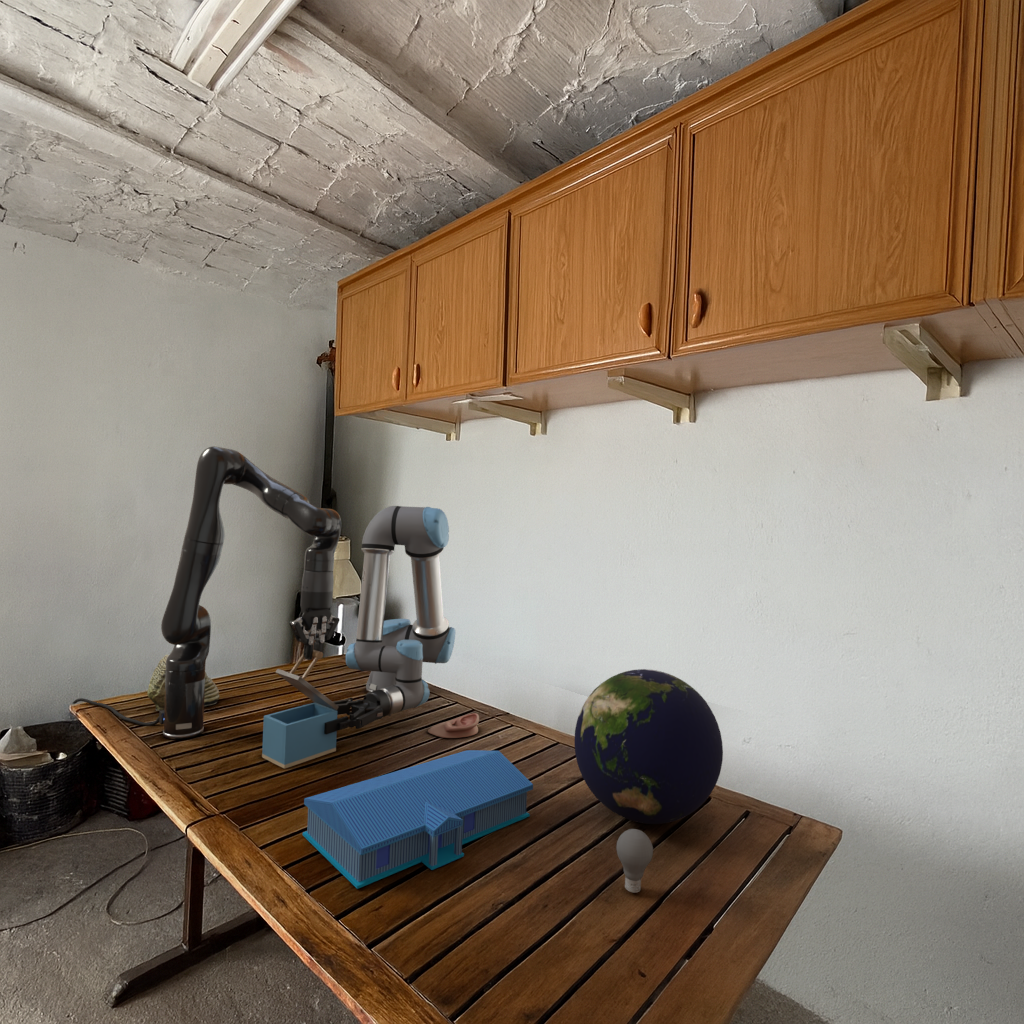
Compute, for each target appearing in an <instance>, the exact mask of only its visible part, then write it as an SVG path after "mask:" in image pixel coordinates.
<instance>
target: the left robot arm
mask: <svg viewBox="0 0 1024 1024" xmlns="http://www.w3.org/2000/svg"><path fill="white" fill-rule="evenodd" d="M224 485H232V486H236V487H239V488H242V489H244V490H246V491H248V492H250V493H252V494H254V495H255V496H256V497H257V499H259V500H260V501H261V502H262V504H263V505H264V506H266V507H267V508H269V510H272V511H273V512H275V513H276V514H278V515H279V516H281V517H283V518H285V519H287V520H289V521H290V522H291V523H292V524H293V525H294V526H295V527H296V528H298V530H300V531H301V532H302V533H304V534H306V535H308V536H310V537H314V538H313V542H312V543H311V545H310V546H308V547H307V548H306V550H305V553H304V563H303V574H302V578H301V590H300V605H299V606H300V613H299V615H298V617H297V618H296V619H295V620H290V621H289V626H290V628H291V631H292V633H293V635H294V637H295V639H296V641H297V642H299V643H302V644H303V649H304V653H303V652H302V654H303V655H304V657H305V658H304V659H305V660H308V661H311V660H312V661H313V658H314V657H313V656H312V654H313V650H317V651H320V652H322V653H323V648H324V643H325V641H329V640H331V638H332V636H333V635H334V633H335V630H336V628H337V626H338V625H339V622H340V618H339V617H336V616H334V615H333V614H332V611H331V609H332V607H333V598H334V597H333V596H334V585H335V584H334V582H335V581H334V577H335V576H334V570H335V569H334V567H335V554H336V550H337V547H338V545H339V541H340V537H341V532H342V519H341V516H340V514H339V513H338V512H337V511H336V510H335V509H333V508H323V507H317V506H315V505H313V504H311V503H310V501H309V498H307V497H306V496H304V495H303V494H301V493H300V492H299V491H297V490H295V489H293V488H291V487H289V486H288V485H286V484H284V483H283V482H281V481H278V480H277V479H275V478H274V477H271V476H270V475H269V474H267V473H266V472H264V471H263V470H262V469H260V468H259V467H258V466H256V465H255V463H253V462H252V461H251V460H250V459H248V458H247V457H246V456H245V455H244V454H242V453H241V452H239V451H238V450H236V449H232V448H226V447H221V446H209V447H207V448H205V449H204V450H203V451H202V452H201V454H200V455H199V458H198V460H197V463H196V470H195V479H194V487H193V488H194V489H193V494H192V495H193V497H192V502H191V507H190V512H189V517H188V521H187V525H186V526H187V527H186V530H185V533H184V537H183V541H182V545H181V552H180V557H179V561H178V565H177V568H176V574H175V578H174V583H173V587H172V590H171V593H170V596H169V598H168V602H167V605H166V607H165V610H164V613H163V616H162V619H161V624H160V631H161V634H162V636H163V639H164V640H165V641H166V642H167V643H169V644H171V645H173V647H172V650H171V652H170V653H169V654H168V655H169V656H168V657H167V659H166V674H165V705H164V710H162V711H159V710H158V712H159V713H158V717H157V718H156V719H155V720H154V721H151V722H144V721H141V720H136V719H133V718H131V717H127V716H125V715H124V714H122V713H120V712H119V711H118V710H116V709H115V707H113V706H111V705H108V704H106V703H102V702H98V701H93V700H92V699H91V700H90V699H87V698H82V697H81V698H79V697H78V698H76V699H74V701H72V703H71V704H72V705H76V704H77V703H79V702H83V703H87V704H90V705H93V706H98V707H102V708H105V709H107V710H109V711H110V712H112V713H113V714H114V715H115V716H117V717H118V718H120V719H122V720H124V721H126V722H129V723H132V724H136V725H139V726H147V727H148V726H150V727H151V726H155V725H157V724H158V723H160V725H163V730H162V737H164V738H166V739H169V740H185V739H190V738H191V739H192V738H194V737H197V736H199V735H202V734H203V732H204V730H205V729H204V727H205V725H204V722H205V721H204V718H205V706H204V693H205V672H206V664H207V663H206V662H207V658H208V655H209V653H210V647H211V633H212V619H211V616H210V613H209V611H208V610H207V608H205V607H204V606H203V605H200V603H201V598H202V596H203V595H202V594H203V592H204V589H205V588H206V586H207V584H208V582H209V580H210V579H211V578H212V575H213V574H214V572H215V570H216V568H217V566H218V564H219V562H220V558H221V556H222V552H223V547H224V542H225V537H226V535H225V534H226V533H225V527H224V523H223V519H222V514H221V508H220V502H221V496H222V492H223V488H224ZM97 702H98V703H97Z"/></svg>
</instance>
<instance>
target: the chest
mask: <svg viewBox="0 0 1024 1024" xmlns="http://www.w3.org/2000/svg"><path fill="white" fill-rule="evenodd" d="M337 712H338V711H336V710H333V709H331V708H328V707H326V706H323V705H320V704H318V703H316V702H310V703H307V704H303V705H299V706H296V707H292V708H288V709H285V710H280V711H277V712H273V713H269V714H266V715H263V724H262V725H263V727H262V750H261V751H262V754H261V758H263V759H264V760H266V761H268V762H271V763H272V764H273V765H276V766H278V767H279V768H282V769H284V770H286V769H288V768H292V767H293V766H296V765H300V764H302V763H306V762H309V761H311V760H314V759H316V758H320V757H323V756H325V755H329V754H332V753H334V752H337V734H338V731H335V732H332V733H329V734H324V730H325V723H326V722H329V721H332V720H335V719H338V715H337Z"/></svg>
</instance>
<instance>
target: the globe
mask: <svg viewBox="0 0 1024 1024" xmlns="http://www.w3.org/2000/svg"><path fill="white" fill-rule="evenodd" d="M573 741H574V754H575V758H576V759H575V760H576V763H577V766H578V769H579V772H580V775H581V777H582V779H583V781H584V782H585V784H586V786H587V787H588V789H589V790H590V792H591V793H592V794H593V796H594V797H595V798H596V799H597V800H598V801H599V802H600V803H601V804H602V805H603V806H604V807H606V808H607V809H608V810H610V811H611V812H613V813H614V814H615V815H617V816H620V817H622V818H624V819H626V820H628V821H631V822H634V823H639V824H645V825H663V824H668V823H672V822H676V821H679V820H682V819H684V818H686V817H688V816H689V815H692V813H694V812H695V811H697V810H698V809H699V808H700V807H701V806H702V805H703V804H704V803H705V802H706V801H707V800H708V799H709V797H710V796H711V794H712V793H713V791H714V789H715V787H716V786H717V783H718V781H719V778H720V774H721V770H722V766H723V760H724V748H723V739H722V733H721V730H720V727H719V724H718V721H717V718H716V716H715V714H714V712H713V710H712V709H711V707H710V705H709V704H708V702H707V701H706V700H705V698H704V697H703V696H702V695H701V694H700V693H699V692H698V691H697V689H695V688H694V687H692V686H691V685H690V684H689V683H687V682H686V681H684V680H682V678H681V679H680V678H679V677H677V676H675V675H673V674H671V673H667V672H664V671H662V670H661V671H660V670H657V669H651V668H641V669H640V668H639V669H631V670H626V671H622V672H620V673H618V674H614V675H612V676H611V677H608V678H606V680H604V681H603V682H602V683H600V684H599V685H598V686H597V687H595V688H594V689H593V690H592V692H591V693H590V694H589V695H588V697H587V698H586V700H585V701H584V703H583V705H582V707H581V708H580V711H579V713H578V716H577V719H576V723H575V729H574V740H573Z"/></svg>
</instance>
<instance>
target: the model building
mask: <svg viewBox="0 0 1024 1024" xmlns="http://www.w3.org/2000/svg"><path fill="white" fill-rule="evenodd" d="M532 790H534V783H532V782H531V781H530V780H529V779H528V778H527V776H525V775H524V774H523V773H522V772H521V771H520V770H519V769H518V768H517V767H516V766H515V765H514V764H513V763H512V762H511V761H510V760H509V758H507V757H506V756H505V755H504V754H503V753H502V752H501V751H500V750H484V749H483V750H481V749H479V750H477V749H474V750H473V749H470V750H469V749H467V750H463V751H460V752H456V753H452V754H450V755H446V756H443V757H439V758H436V759H433V760H429V761H427V762H423V763H420V764H416V765H413V766H410V767H406V768H402V769H399V770H396V771H392V772H389V773H386V774H382V775H379V776H376V777H372V778H369V779H365V780H362V781H359V782H355V783H352V784H348V785H346V786H342V787H338V788H336V789H332V790H328V791H325V792H321V793H318V794H315V795H312V796H308V797H304V798H303V805H304V806H305V807H307V830H305V831H302V836H303V837H304V838H305V839H306V840H307V841H308V842H309V843H310V844H311V845H312V846H313V847H314V848H315V849H316V850H317V851H318V852H319V853H320V854H321V855H322V856H323V857H324V858H325V859H326V860H327V861H328V862H329V863H330V864H331V865H332V866H333V867H334V868H335V869H336V870H337V871H338V872H339V873H340V874H341V875H343V877H345V879H346V880H347V881H348V882H350V883H351V885H352V886H354V887H355V888H356V890H359V889H361V888H364V887H365V886H368V885H371V884H373V883H376V882H378V881H380V880H381V879H385V878H387V877H390V876H391V875H394V874H396V873H400V872H401V871H403V870H406V869H408V868H411V867H413V866H415V865H418V864H420V863H422V865H424V866H426V867H427V868H428V869H429V870H431V871H434V870H436V869H438V868H440V867H443V866H445V865H447V864H450V863H452V862H455V861H456V860H459V859H461V858H463V857H465V853H464V852H463V845H465V844H468V843H471V842H472V841H475V840H477V839H480V838H481V837H484V836H486V835H489V834H492V833H493V832H496V831H498V830H501V829H503V828H505V827H508V826H510V825H513V824H515V823H517V822H520V821H522V820H525V819H527V818H529V817H530V816H531V814H530V813H529V812H528V811H527V801H528V798H527V797H528V792H530V791H532Z"/></svg>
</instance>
